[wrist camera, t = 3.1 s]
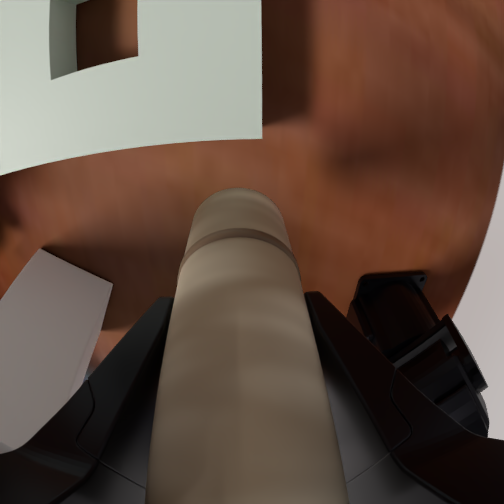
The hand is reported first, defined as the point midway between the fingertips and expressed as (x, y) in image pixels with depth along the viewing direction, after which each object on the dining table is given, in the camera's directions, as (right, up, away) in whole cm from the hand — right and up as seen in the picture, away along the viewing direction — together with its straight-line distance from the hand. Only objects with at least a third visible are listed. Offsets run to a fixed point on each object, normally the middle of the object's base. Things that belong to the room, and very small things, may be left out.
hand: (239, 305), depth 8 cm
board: (-7, +14, +3) cm, 16 cm away
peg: (0, +2, +3) cm, 4 cm away
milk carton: (-15, -2, +14) cm, 21 cm away
